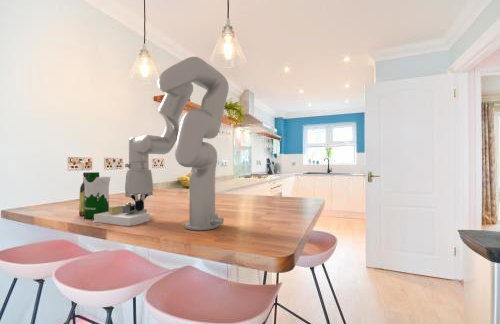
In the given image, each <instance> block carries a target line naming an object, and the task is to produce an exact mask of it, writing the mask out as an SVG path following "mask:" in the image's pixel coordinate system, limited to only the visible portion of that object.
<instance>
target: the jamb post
mask: <svg viewBox="0 0 500 324" xmlns="http://www.w3.org/2000/svg"><path fill="white" fill-rule="evenodd" d="M135 212H141V213H148V212H147V209H145V208H144V209H142V211H135Z"/></svg>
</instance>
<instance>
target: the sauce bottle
mask: <svg viewBox="0 0 500 324" xmlns="http://www.w3.org/2000/svg"><path fill="white" fill-rule="evenodd" d="M88 173H91V172H90V171H89V172H88V171H87V172H83V173H82V176H83V177H89V176H88ZM82 181H83V180H82ZM78 197H79V199H78V200H79V201H78V203H79V204H78V211H79V212H78V215H79V216H84V211H85V185H84V181H83V182H82V183H81V184H80V187H79V196H78Z"/></svg>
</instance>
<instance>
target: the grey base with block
mask: <svg viewBox="0 0 500 324" xmlns="http://www.w3.org/2000/svg"><path fill="white" fill-rule="evenodd" d="M123 206H124V205H121V204H119V205H114V206H109V212H104V213H99V214H94V218H93V222H94V223H101V224H110V225H115V226H116V225H118V226H125V227H126V226H127V227H131V226H136V225H139V224H143V223H146V222H150V221H151V220H150V219H151V215H150V213H148V212H147V213H141V212H132V213H123Z"/></svg>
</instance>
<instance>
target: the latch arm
mask: <svg viewBox="0 0 500 324" xmlns="http://www.w3.org/2000/svg"><path fill="white" fill-rule="evenodd" d="M122 206H123V213H132V212H135V211H137V210H136V209H135V201H134V202H133V203H132V202H125V205H122ZM142 209H145V207H144V208H142Z"/></svg>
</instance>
